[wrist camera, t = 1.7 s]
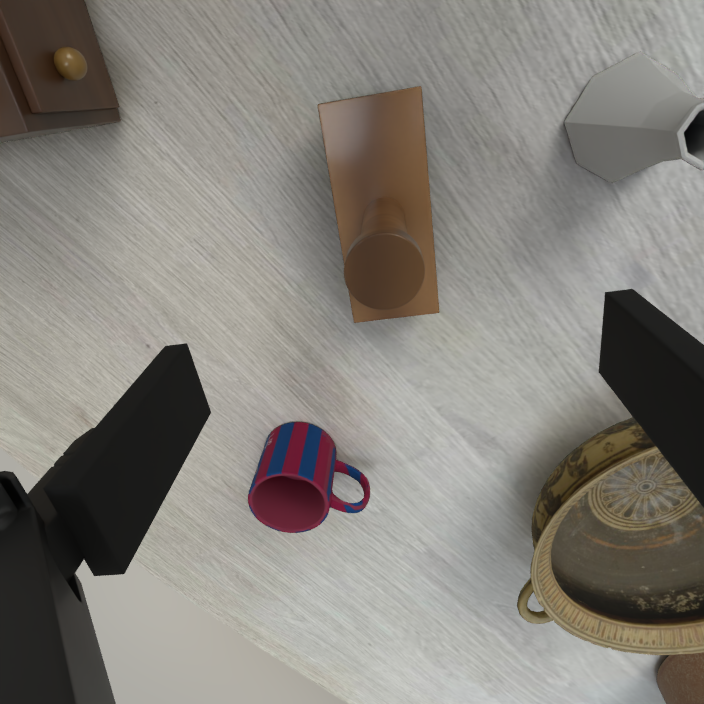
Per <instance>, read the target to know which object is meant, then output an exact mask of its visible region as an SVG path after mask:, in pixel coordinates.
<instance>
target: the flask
mask: <svg viewBox="0 0 704 704" xmlns="http://www.w3.org/2000/svg"><path fill="white" fill-rule="evenodd" d="M564 123H565V127H566V130H567V133H568V136H569V140H570V143H571V146H572V150H573V153H574V156H575V159H576V163H577V164H578V165H580V166H582V167H583V168H585V169H587V170H589V171H591V172H592V173H594V174H596V175H598V176H600V177H601V178H603V179H605V180H607V181H609V182H610V183H614V182H616V181H619V180H621V179H623V178H625V177H627V176H629V175H632V174H634V173H636V172H638V171H640V170H643V169H645V168H648V167H650V166H653V165H655V164H658V163H660V162H663V161H669V160H677V159H682V160H684V161H686V162H687V163H689V164H691V165H693V166H694V167H696V168H698V169H700V170H704V98H698V97H696V96H695V95H694V94H693V93H692V92H691V91H690V90H689V88H688V87H687V86H686V84H685V83H684V81H683V80H682V78H681V77H680V76H679V75H678V74H677V73H675V72H673V71H672V70H670V69H668V68H667V67H665V66H664V65H662V64H660V63H659V62H657V61H655V60H654V59H652V58H650V57H649V56H647V55H646V54H644V53H642V52H641V51H640V52H638V53H636V54H634V55H632V56H630V57H629V58H627V59H625V60H623V61H621V62H619V63H617V64H615V65H613V66H612V67H610V68H608V69H606V70H604V71H602V72H600V73H598V74H596V75H595V76H593V77H592V78H591V80H590V82H589V83H588V85H587V86H586V88H585V90H584V91H583V93H582V94H581V96H580V98H579V99H578V101H577V102H576V104H575V106H574V107H573V109H572V110H571V112H570V114H569V115H568V117H567V118H566V120H565V122H564Z"/></svg>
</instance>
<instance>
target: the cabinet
mask: <svg viewBox="0 0 704 704" xmlns="http://www.w3.org/2000/svg"><path fill="white" fill-rule="evenodd" d="M117 108H119V104H118V101H117V98H116V95H115V92H114V89H113V86H112V83H111V80H110V77H109V74H108V71H107V68H106V65H105V62H104V59H103V56H102V53H101V50H100V47H99V44H98V41H97V38H96V35H95V32H94V29H93V26H92V23H91V20H90V17H89V14H88V11H87V8H86V5H85V2H84V0H0V143H4V142H10V141H16V140H21V139H27V138H32V137H38V136H43V135H49V134H55V133H60V132H66V131H71V130H77V129H83V128H88V127H94V126H99V125H105V124H110V123H116V122H120V121H121V119H120V116H119V113H118V110H117Z"/></svg>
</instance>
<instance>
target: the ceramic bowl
mask: <svg viewBox="0 0 704 704" xmlns="http://www.w3.org/2000/svg"><path fill="white" fill-rule="evenodd" d="M531 530H532V539H533V546H534V550H535V551H534V555H533V559H532V563H531V578H530V579H529V580H528V582H527V583H526V584H525V585H524V587H523V588H522V590H521V591H520V594H519V597H518V602H517V607H518V610H519V613H520V615H521V616H522V618H524V619H525V620H526V621H528V622H530V623H535V624H542V623H547V622H550V621H553V620H554V621H555V623H556V624H558V625H559V626H560V627H561V628H563V629H564V630H566V631H567V632H569V633H570V634H572V635H574V636H576V637H578V638H580V639H582V640H585V641H589V642H591V643H593V644H595V645H599V646H602V647H605V648H609V647H610V648H612V649H614V650H618V651H623V652H630V653H639V654H650V655H676V654H693V653H702V652H704V508H703V506H702V505H701V504H700V503H699V501H698V500H697V499H696V497H695V496H694V495H693V494H692V492H691V491H690V490H689V488H688V487H687V486H686V484H685V483H684V482H683V481H682V479H681V478H680V477H679V475H678V474H677V473H676V472H675V470H674V469H673V468H672V466H671V465H670V464H669V462H668V461H667V460H666V459H665V457H664V456H663V455H662V453H661V452H660V451H659V450H658V448H657V447H656V446H655V444H654V443H653V442H652V440H651V439H650V438H649V437H648V435H647V434H646V433H645V431H644V430H643V429H642V428H641V426H640V425H639V424H638V422H637V421H636V420H635V418H634V417H633V418H631V419H628V420H625V421H622V422H620V423H618V424H615V425H613V426H611V427H609V428H607V429H605V430H603V431H601V432H600V433H598V434H596V435H595V436H593V437H592V438H590V439H588V440H587V441H586V442H584V443H583V444H581V445H580V446H579V447H577V448H576V449H575V450H574V451H573V452H571V453H570V454H569V455H568V456H567V457H566V458H565V459H564V460H563V461H562V462H561V463H560V464H559V465H558V466H557V468H556V469H555V470H554V471H553V473H552V474H551V475H550V477H549V478H548V480H547V481H546V483H545V485H544V486H543V488H542V490H541V492H540V495H539V497H538V499H537V502H536V505H535V508H534V512H533V516H532V529H531ZM533 591H534V594H535V596H536V598H537V600H538V602H539V604H540V605H541V606H542V607H544V611H541V612H535V611H531V610H530V609H529V608H528V607H527V602H528V599H529V597H530V596H531V594H532V593H533Z"/></svg>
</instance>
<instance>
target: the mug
mask: <svg viewBox="0 0 704 704" xmlns="http://www.w3.org/2000/svg"><path fill="white" fill-rule="evenodd" d="M334 472H341V473H344V474H347V475H349V476H351V477H352V478H354V479H355V480H357V481H358V482H359V483H360V484H361V486H362V488H363V491H364V498H363V499H362V500H361V501H360V502H358V503H347V502H344V501H342V500H340V499H339V498H338V497H336V496H335V495H334V494H333V492H332V486H333V478H334ZM369 498H370V485H369V482H368V480H367V478H366V477H365V476H364V474H363V473H361V472H360V471H359V470H357V469H356V468H354V467H352V466H350V465H348V464H346V463H343V462H341V461H338V460H336V447H335V444H334V442H333V440H332V439H331V437H330V436H329V435H328V434H327V433H326V432H325V431H324V430H322V429H320V428H319V427H317V426H314V425H312V424H308V423H303V422H291V423H286V424H283V425H281V426H279V427H277V428H276V429H274V430H273V431H272V432H271V433H270V435H269V436H268V438H267V440H266V443H265V446H264V449H263V452H262V455H261V458H260V461H259V464H258V467H257V470H256V472H255V475H254V478H253V481H252V484H251V487H250V490H249V494H248V504H249V507H250V509H251V511H252V513H253V514H254V516H255V517H256V518H257V519H258V520H259V521H260V522H262V523H263V524H264V525H266V526H268V527H270V528H272V529H275V530H278V531H282V532H288V533H299V532H305V531H308V530H311V529H313V528H315V527H317V526H318V525H320V524H321V523H322V522H323V521H324V520H325V518H326V517H327V515H328V512H329V508H330V507H331V508H334V509H336V510H339V511H342V512H347V513H358V512H360V511H362V510H363V509H364V508H365V507H366V505H367V503H368V501H369Z"/></svg>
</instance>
